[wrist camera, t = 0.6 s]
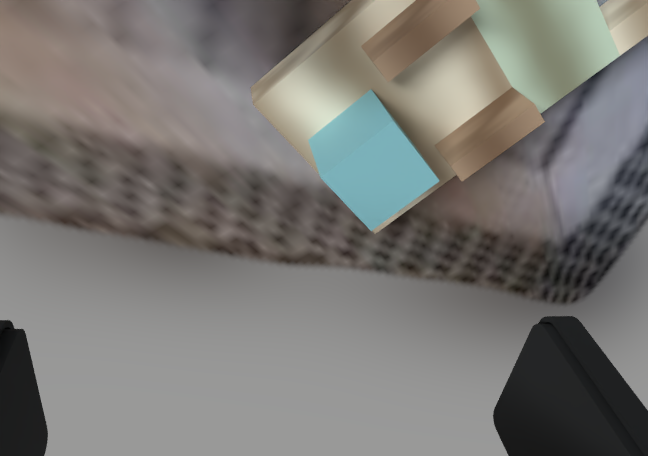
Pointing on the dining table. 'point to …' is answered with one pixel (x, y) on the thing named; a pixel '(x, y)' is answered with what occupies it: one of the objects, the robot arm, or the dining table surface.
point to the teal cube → (370, 161)
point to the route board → (447, 71)
